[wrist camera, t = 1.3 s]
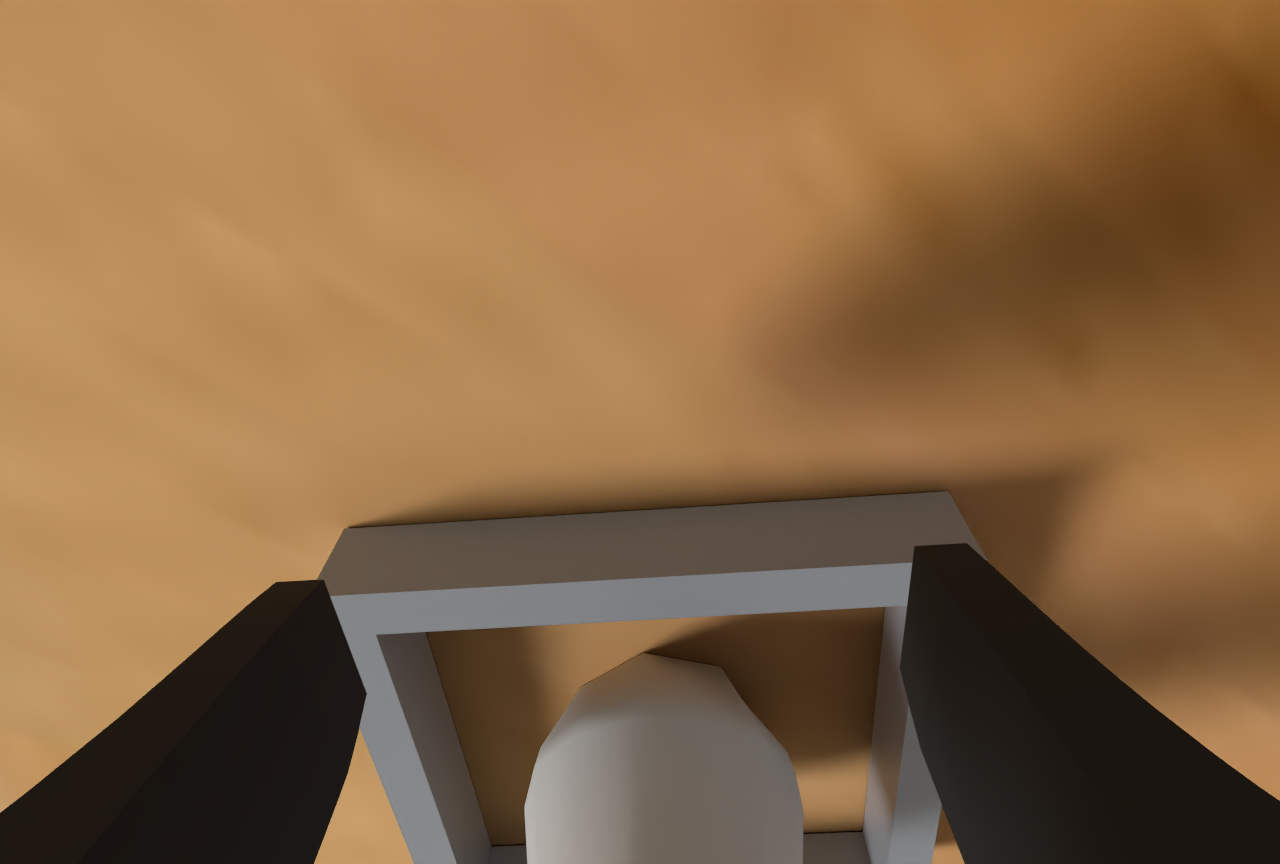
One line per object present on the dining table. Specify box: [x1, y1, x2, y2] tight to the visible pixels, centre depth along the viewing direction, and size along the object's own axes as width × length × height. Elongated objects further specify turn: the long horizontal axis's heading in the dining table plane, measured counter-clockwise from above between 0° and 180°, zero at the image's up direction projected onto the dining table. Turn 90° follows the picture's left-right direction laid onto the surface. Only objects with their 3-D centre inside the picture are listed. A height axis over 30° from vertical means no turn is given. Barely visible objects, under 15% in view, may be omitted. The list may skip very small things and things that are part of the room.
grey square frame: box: [317, 491, 986, 864], centre depth 18 cm, size 12×12×2 cm
